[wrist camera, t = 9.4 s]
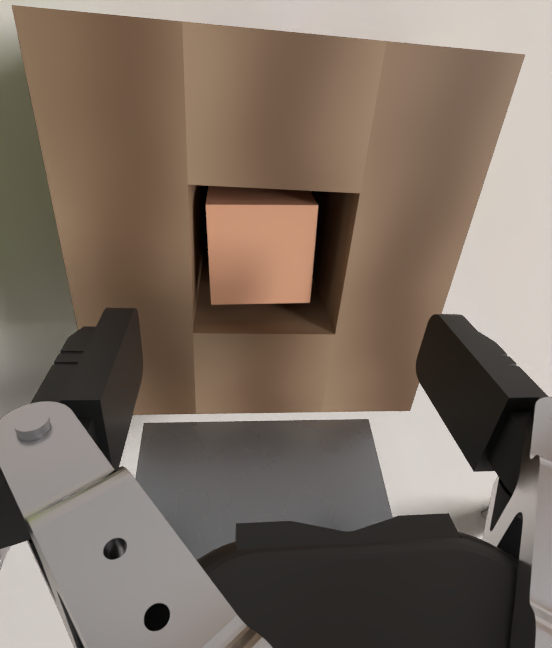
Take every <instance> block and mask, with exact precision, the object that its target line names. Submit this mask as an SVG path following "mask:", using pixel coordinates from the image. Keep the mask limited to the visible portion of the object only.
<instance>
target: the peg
mask: <svg viewBox="0 0 552 648" xmlns="http://www.w3.org/2000/svg"><path fill="white" fill-rule="evenodd" d="M317 216H318V204H317V202H316V200H315V199H314V197H313V196H312V194H311V192H310V191H304V190H285V189H265V188H245V187H225V186H208V192H207V199H206V220H207V239H208V257H209V275H210V293H211V305H221V304H275V303H310V297H311V286H312V274H313V263H314V251H315V240H316V228H317Z"/></svg>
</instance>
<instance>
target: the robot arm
mask: <svg viewBox="0 0 552 648" xmlns="http://www.w3.org/2000/svg"><path fill="white" fill-rule="evenodd" d="M142 375H143V353H142V343H141V334H140V324H139V315H138V311H137V309H136V308H105V310H104V311H103V313H102V315H101V317H100V319H99V322H98V324H97V326H96V327H93V326H83V327H82V328H81V329H79V330H78V331H77V332H75V333H74V334H73V335H71V336H70V337H69V338H68V339H67V341H66V343H65V344H64V346H63V348H62V350H61V354H59V355H58V356H57V358H56V360H55V362H54V365H52V367H51V369H50V370H49V372H48V374H47V376H46V377H45V379H44V381H43V383H42V384H41V386H40V388H39V390H38V391H37V393H36V395H35V397H34V398H33V400H32V402H31V404H27V405H24V406H21V407H19V408H17V409H14V410H13V411H11V412H9V413H7V414H6V415H5V416H3V417H2V418H1V419H0V569H1V567H2V564H3V561H4V559H5V556H6V554H7V552H8V550H9V547H10V546H12V545H15V544H18V543H21V542H24V541H27V542H28V544H29V546H30V549H31V551H32V553H33V555H34V558H35V560H36V562H37V564H38V566H39V569H40V571H41V573H42V575H43V577H44V580H45V582H46V584H47V586H48V589H49V591H50V593H51V595H52V597H53V600H54V602H55V604H56V606H57V609H58V611H59V613H60V615H61V618H62V620H63V622H64V625H65V627H66V630H67V632H68V635H69V637H70V639H71V642H72V644H73V646H74V648H552V397H548V396H547V395H546V394H545V393H544V392H543V391H542V390H541V389H540V388H539V387H538V385H537V384H536V383H535V382H534V381H533V380H532V379H531V378H530V377H529V376H528V375H527V374H526V373H525V372H524V371H523V370H522V369H521V368H520V367H519V366H516V363H515V362H514V361H513V360H512V359H511V358H510V357H508V356H507V354H506V353H505V351H504V350H503V349H502V348H501V347H500V346H499V345H498V344H497V343H496V342H494V341H493V340H491V339H489V338H488V337H486V336H485V335H483V334H481V333H480V332H478V331H477V330H476V329H475V328H474V327H473V326H472V325H471V324H470V323H469V322H468V320H467V319H466V318H465V317H464V316H462V315H457V314H434V315H432V316H431V317H430V319H429V321H428V323H427V327H426V330H425V333H424V336H423V340H422V343H421V346H420V349H419V353H418V356H417V359H416V375H417V378H418V380H419V382H420V384H421V386H422V387H423V389H424V390H425V392H426V394H427V395H428V397H429V399H430V400H431V402H432V404H433V405H434V407H435V408H436V410H437V412H438V413H439V415H440V417H441V418H442V420H443V422H444V423H445V425H446V426H447V428H448V430H449V431H450V433H451V435H452V436H453V438H454V440H455V441H456V443H457V445H458V446H459V448H460V449H461V451H462V453H463V454H464V456H465V458H466V459H467V461H468V463H469V464H470V466H471V467H472V469H473V471H474V472H475V471H495V472H496V473H497V475H498V476H497V478H496V480H495V482H494V484H493V488H492V493H491V498H490V503H489V509H488V514H487V519H486V524H485V529H484V535H483V540H481V539H478V538H476V537H474V536H470V535H467V534H464V533H461V532H457V530H456V528H455V526H454V524H453V522H452V519H451V517H450V515H449V514H427V515H406V516H397V517H394V518H391V519H388V520H385V521H382V522H379V523H376V524H373V525H370V526H367V527H364V528H361V529H358V530H355V531H348V532H347V531H340V530H335V529H330V528H325V527H320V526H315V525H310V524H305V523H299V522H294V521H276V522H254V523H236V532H235V542H232V543H229V544H226V545H223V546H221V547H219V548H217V549H214V550H212V551H210V552H209V553H207V554H205V555H204V556H202V557H201V558H199V559H197V560H196V559H195V558H194V557H193V555H192V554H191V553H190V551H189V550H188V549H187V547H186V546H185V545H184V543H183V542H182V541H181V539H180V538H179V537H178V535H177V534H176V533H175V531H174V530H173V529H172V527H171V526H170V525H169V523H168V522H167V521H166V519H165V518H164V517H163V515H162V514H161V513H160V511H159V510H158V509H157V507H156V506H155V505H154V503H153V502H152V501H151V499H150V498H149V497H148V495H147V494H146V493H145V491H144V490H143V489H142V487H141V486H140V485H139V483H138V482H137V481H136V479H135V478H134V477H133V475H132V474H131V473H130V472H129V471H128V470H127V469H126V468H125V467H123V466H122V467H119V465H120V461H121V457H122V453H123V449H124V446H125V442H126V438H127V434H128V430H129V427H130V423H131V419H132V415H133V412H134V408H135V404H136V400H137V396H138V393H139V389H140V385H141V381H142Z"/></svg>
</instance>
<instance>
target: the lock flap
mask: <svg viewBox="0 0 552 648" xmlns="http://www.w3.org/2000/svg"><path fill="white" fill-rule="evenodd" d="M136 481H137V482H138V483H139V485H140V486H141V487H142V489H143V490H144V491H145V493H146V494H147V495H148V497H149V498H150V499H151V501H152V502H153V503H154V505H155V506H156V507H157V509H158V510H159V511H160V513H161V514H162V515H163V517H164V518H165V519H166V521H167V522H168V523H169V525H170V526H171V527H172V529H173V530H174V531H175V533H176V534H177V535H178V537H179V538H180V539H181V541H182V542H183V543H184V545H185V546H186V547H187V549H188V550H189V551H190V553H191V554H192V555H193V557H194V558H195V559H196V560H197V559H199V558H201V557H202V556H204V555H205V554H207V553H209V552H210V551H212V550H214V549H217V548H219V547H221V546H223V545H226V544H229V543H232V542H235V532H236V523H254V522H276V521H294V522H299V523H305V524H310V525H315V526H320V527H325V528H330V529H335V530H340V531H347V532H348V531H355V530H358V529H361V528H364V527H367V526H370V525H373V524H376V523H379V522H382V521H385V520H388V519H391V518H393V517H392V513H391V509H390V505H389V501H388V497H387V493H386V489H385V485H384V481H383V477H382V472H381V468H380V464H379V460H378V456H377V452H376V448H375V444H374V440H373V436H372V432H371V428H370V424H369V420H368V419H353V420H294V421H235V422H176V423H144V425H143V432H142V439H141V445H140V452H139V459H138V465H137V472H136Z"/></svg>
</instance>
